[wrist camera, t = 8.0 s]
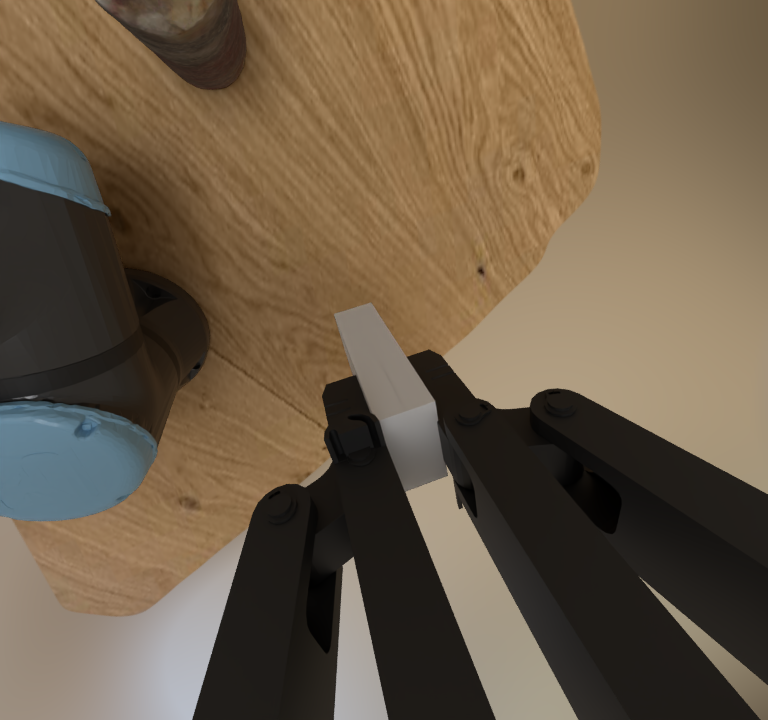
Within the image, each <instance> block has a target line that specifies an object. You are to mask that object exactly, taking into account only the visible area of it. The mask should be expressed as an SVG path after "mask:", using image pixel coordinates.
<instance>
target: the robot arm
mask: <svg viewBox="0 0 768 720" xmlns="http://www.w3.org/2000/svg"><path fill="white" fill-rule="evenodd" d="M108 216H111V213H110V210H109V208H108V207H107V206H106V205H104V202H103V200H102V197H101V194H100V191H99V188H98V185H97V182H96V180H95V177H94V174H93V171H92V168H91V166H90V163H89V161H88V160H87V158H86V156H85V155H84V154H83V152H82V151H81V150H80V149H79V148H78V147H76V146H75V145H74V144H72V143H71V142H70V141H68V140H67V139H65V138H63V137H61V136H59V135H56V134H54V133H51V132H47V131H44V130H40V129H36V128H31V127H27V126H22V125H17V124H12V123H7V122H2V121H0V516H4V517H9V518H12V519H16V520H25V521H60V520H69V519H76V518H81V517H85V516H89V515H93V514H96V513H99V512H102V511H104V510H107V509H109V508H111V507H113V506H115V505H117V504H119V503H120V502H122V501H124V500H125V499H126V498H127V497H128V496H129V495H130V494H132V493H133V491H135V490H136V489H137V488H138V487H139V485H140V484H141V483H142V481H143V479H144V477H145V475H146V474H147V472H148V470H149V468H150V466H151V464H152V463H153V462H154V460H155V458H156V456H157V452H158V450H157V447H158V444H159V441H160V438H161V436H162V433H163V430H164V427H165V424H166V421H167V418H168V415H169V412H170V409H171V406H172V404H173V401H174V398H175V395H176V392H177V391H178V390H180V389H181V388H182V387H183V386H185V385H186V384H187V383H188V382H190V381H191V380H192V379H193V378H194V377H195V376H196V375H197V373H198V372H199V371H200V369H201V367H202V366H203V364H204V361H205V359H206V356H207V352H208V349H209V343H210V333H209V327H208V323H207V320H206V318H205V316H204V314H203V312H202V310H201V309H200V307H199V306H198V304H197V303H196V302H195V301H194V299H193V298H192V297H191V296H190V295H189V294H188V293H186V292H185V291H184V290H183V289H182V288H180V287H179V286H177V285H176V284H174V283H173V282H171V281H169V280H167V279H165V278H163V277H161V276H158V275H156V274H153V273H149V272H146V271H141V270H136V269H125V268H123V265H122V261H121V258H120V255H119V252H118V248H117V245H116V242H115V238H114V235H113V232H112V229H111V225H110V222H109V219H108ZM334 316H335V320H336V323H337V326H338V329H339V332H340V336H341V339H342V342H343V345H344V349H345V352H346V355H347V358H348V361H349V365H350V368H351V371H352V374H353V376H351V377H348V378H345V379H342V380H339V381H336V382H333V383H330V384H327V385H326V387H325V390H324V392H323V395H322V398H323V403H324V407H325V412H326V416H327V421H328V427H327V429H326V430H325V433H324V441H325V444H326V446H327V448H328V451H329V453H330V456H331V458H332V460H333V461H332V463H331V465H330V467H329V469H328V470H327V471H326V472H325V473H324V474H323V475H322V476H321V477H320V478H319V479H318V480H316V481H315V482H313V483H312V484H310V485H309V486H307V487H306V488H305V487H302V486H300V485H298V484H286V485H283V486H280V487H277V488H275V489H273V490H272V491H270V492H269V493H267V494H266V495H265V496H264V497H263V498H262V499H261V500H260V501H259V502H258V504H257V506H256V508H255V510H254V512H253V514H252V518H251V521H250V524H249V528H248V531H247V535H246V538H245V542H244V545H243V548H242V552H241V555H240V559H239V562H238V566H237V569H236V572H235V576H234V579H233V582H232V586H231V589H230V593H229V596H228V600H227V603H226V606H225V610H224V613H223V617H222V620H221V623H220V627H219V631H218V634H217V637H216V640H215V644H214V647H213V651H212V654H211V658H210V661H209V664H208V668H207V671H206V675H205V678H204V682H203V685H202V688H201V692H200V695H199V698H198V702H197V705H196V709H195V712H194V716H193V719H192V720H334V707H335V690H336V673H337V656H338V637H339V623H340V622H339V621H340V606H341V605H340V604H341V589H342V588H341V587H342V572H343V566H342V565H344V564H345V563H346V562H347V561H349V560H350V559H351V558H352V557H354V560H355V565H356V569H357V574H358V579H359V584H360V588H361V593H362V597H363V602H364V607H365V612H366V616H367V621H368V625H369V630H370V635H371V640H372V644H373V649H374V654H375V658H376V663H377V667H378V672H379V677H380V682H381V687H382V691H383V696H384V701H385V705H386V710H387V714H388V719H389V720H496V719H495V716H494V714H493V712H492V709H491V706H490V704H489V701H488V699H487V696H486V694H485V691H484V689H483V687H482V684H481V681H480V679H479V676H478V674H477V671H476V669H475V666H474V664H473V661H472V659H471V656H470V654H469V651H468V649H467V646H466V644H465V641H464V639H463V636H462V634H461V631H460V629H459V626H458V624H457V621H456V619H455V617H454V614H453V611H452V609H451V606H450V603H449V601H448V599H447V596H446V594H445V591H444V588H443V586H442V583H441V581H440V578H439V576H438V574H437V571H436V569H435V566H434V564H433V561H432V559H431V556H430V553H429V551H428V548H427V546H426V543H425V541H424V538H423V536H422V533H421V531H420V528H419V526H418V523H417V521H416V518H415V516H414V513H413V511H412V508H411V506H410V503H409V501H408V498H407V496H406V493H405V492H406V491H408V490H411V489H414V488H416V487H419V486H422V485H424V484H427V483H430V482H432V481H435V480H438V479H440V478H443V477H446V476H448V473H447V468H446V465H447V467H448V469H449V470H450V472H451V474H452V476H453V479H454V487H455V492H456V499H457V504H458V507H459V509H461V508H463V506H462V503H463V505H464V507H465V509H466V511H467V513H468V515H469V517H470V518H471V520H472V522H473V524H474V526H475V528H476V529H477V531H478V533H479V535H480V537H481V539H482V541H483V543H484V544H485V546H486V548H487V550H488V552H489V554H490V556H491V557H492V559H493V561H494V563H495V565H496V567H497V569H498V571H499V572H500V574H501V576H502V578H503V580H504V582H505V584H506V585H507V587H508V589H509V591H510V593H511V595H512V597H513V599H514V600H515V602H516V604H517V606H518V608H519V610H520V612H521V613H522V615H523V617H524V619H525V621H526V623H527V624H528V626H529V628H530V630H531V632H532V634H533V636H534V638H535V639H536V641H537V643H538V645H539V647H540V649H541V651H542V653H543V654H544V656H545V658H546V660H547V662H548V664H549V666H550V667H551V669H552V671H553V673H554V675H555V677H556V678H557V680H558V682H559V684H560V686H561V688H562V690H563V692H564V694H565V695H566V697H567V699H568V701H569V703H570V705H571V706H572V708H573V710H574V712H575V714H576V716H577V718H578V719H579V720H760V719H759V717H758V716H757V715H756V714H755V713H754V712H753V710H752V709H751V708H750V707H749V706H748V704H747V703H746V702H745V701H744V700H743V699H742V697H741V696H740V695H739V694H738V693H737V692H736V690H735V689H734V688H733V687H732V686H731V684H730V683H729V682H728V681H727V680H726V679H725V678H724V676H723V675H722V674H721V673H720V671H719V670H718V669H717V668H716V667H715V666H714V664H713V663H712V662H711V661H710V660H709V659H708V657H707V656H706V655H705V654H704V653H703V652H702V650H701V649H700V648H699V647H698V646H697V645H696V643H695V642H694V641H693V640H692V639H691V637H690V636H689V635H688V634H687V633H686V632H685V630H684V629H683V628H682V627H681V626H680V625H679V623H678V622H677V621H676V620H675V619H674V617H673V616H672V615H671V614H670V613H669V612H668V610H667V609H666V608H665V607H664V606H663V605H662V603H661V602H660V601H659V600H658V599H657V598H656V596H655V595H654V594H653V593H652V592H651V590H650V589H649V588H648V587H647V586H646V584H645V583H644V582H643V581H642V580H641V579H640V577H641V578H642V579H643V580H644V581H645V582H647V583H648V584H649V585H650V586H651V587H652V588H654V589H655V590H656V591H657V592H658V593H659V594H661V595H662V596H663V597H664V598H665V599H666V600H668V601H669V602H670V603H671V604H672V605H674V606H675V607H676V608H677V609H678V610H680V611H681V612H682V613H683V614H684V615H686V616H687V617H688V618H689V619H690V620H691V621H692V622H694V623H695V624H696V625H697V626H698V627H700V628H701V629H702V630H703V631H704V632H706V633H707V634H708V635H709V636H710V637H711V638H713V639H714V640H715V641H716V642H717V643H719V644H720V645H721V646H722V647H723V648H725V649H726V650H727V651H728V652H729V653H730V654H732V655H733V656H734V657H735V658H736V659H737V660H739V661H740V662H741V663H742V664H743V665H745V666H746V667H747V668H748V669H749V670H750V671H752V672H753V673H754V674H756V676H758V677H759V678H760V679H761V680H763V682H765V683H766V684H767V685H768V494H766V493H764V492H762V491H760V490H759V489H757V488H755V487H753V486H751V485H749V484H747V483H745V482H744V481H742V480H740V479H738V478H736V477H734V476H732V475H730V474H729V473H727V472H725V471H723V470H721V469H719V468H717V467H715V466H714V465H712V464H710V463H708V462H706V461H704V460H702V459H700V458H699V457H697V456H695V455H693V454H691V453H689V452H687V451H685V450H684V449H682V448H680V447H678V446H676V445H674V444H672V443H670V442H668V441H667V440H665V439H663V438H661V437H659V436H657V435H655V434H654V433H652V432H650V431H648V430H646V429H644V428H642V427H640V426H639V425H637V424H635V423H633V422H631V421H629V420H627V419H625V418H624V417H622V416H620V415H618V414H616V413H614V412H612V411H610V410H609V409H607V408H605V407H603V406H601V405H599V404H597V403H595V402H594V401H592V400H590V399H587V398H586V397H584V396H582V395H580V394H578V393H576V392H573V391H570V390H565V389H558V388H557V389H547V390H544V391H542V392H539V393H538V394H536V395H535V396H534V397H533V398H532V400H531V403H530V407H527V408H517V409H496V408H495V407H494V406H493V405H491V404H490V403H489V402H487V401H484V400H481V399H477V398H475V397H474V396H473V394H472V393H471V392H470V391H469V389H468V388H467V387H466V386H465V384H464V383H463V382H462V381H461V379H460V378H459V377H458V376H457V375H456V373H454V371H453V370H452V368H451V367H450V366H448V363H447V362H446V361H445V360H444V359H443V357H442V356H441V355H439V354H437V353H435V352H433V351H431V350H426V351H423V352H420V353H417V354H414V355H411V356H408V357H406V356H405V354H404V352H403V351H402V349H401V348H400V346H399V345H398V343H397V342H396V340H395V339H394V337H393V335H392V334H391V332H390V331H389V329H388V328H387V326H386V325H385V323H384V322H383V320H382V318H381V317H380V315H379V314H378V312H377V311H376V309H375V308H374V306H373V305H372V303H368V304H365V305H361V306H358V307H355V308H352V309H348V310H345V311H342V312H339V313H336V314H334Z"/></svg>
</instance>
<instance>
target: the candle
mask: <svg viewBox="0 0 768 720" xmlns="http://www.w3.org/2000/svg"><path fill="white" fill-rule="evenodd" d="M95 1H96V2H97V3H98V4H99V5H100V6H101V7H102V8H103V9H104V10H105V11H106V12H107V13H108V14H110V15H111V16H113V17H114V18H115V19H116V20H117V21H118V22H120V23H121V24H122V25H123V26H124V27H125V28H126V29H128V30H129V31H130V32H131V33H132V34H133V35H134V36H135V37H136V38H138V39H139V40H140V41H141V42H142V43H143V44H145V45H146V46H147V47H148V48H149V49H150V50H151V51H153V52H154V53H155V54H156V55H157V56H158V57H159V58H160V59H161V60H162V61H163V62H164V63H165V64H167V66H168V67H170V68H171V69H172V70H173V71H174V72H175V73H177V74H178V75H179V76H180V77H181V78H183V79H184V80H185V81H187V82H188V83H190V84H192V85H194V86H196V87H198V88H201V89H212V90H213V89H220V88H225V87H227V86H229V85H230V84H231V83H232V82H234V81H235V80H236V79H237V77H238V76H239V74H240V72H241V71H242V69H243V66H244V62H245V56H246V37H245V32H244V27H243V23H242V18H241V13H240V10H239V6H238V3H237V0H95Z"/></svg>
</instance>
